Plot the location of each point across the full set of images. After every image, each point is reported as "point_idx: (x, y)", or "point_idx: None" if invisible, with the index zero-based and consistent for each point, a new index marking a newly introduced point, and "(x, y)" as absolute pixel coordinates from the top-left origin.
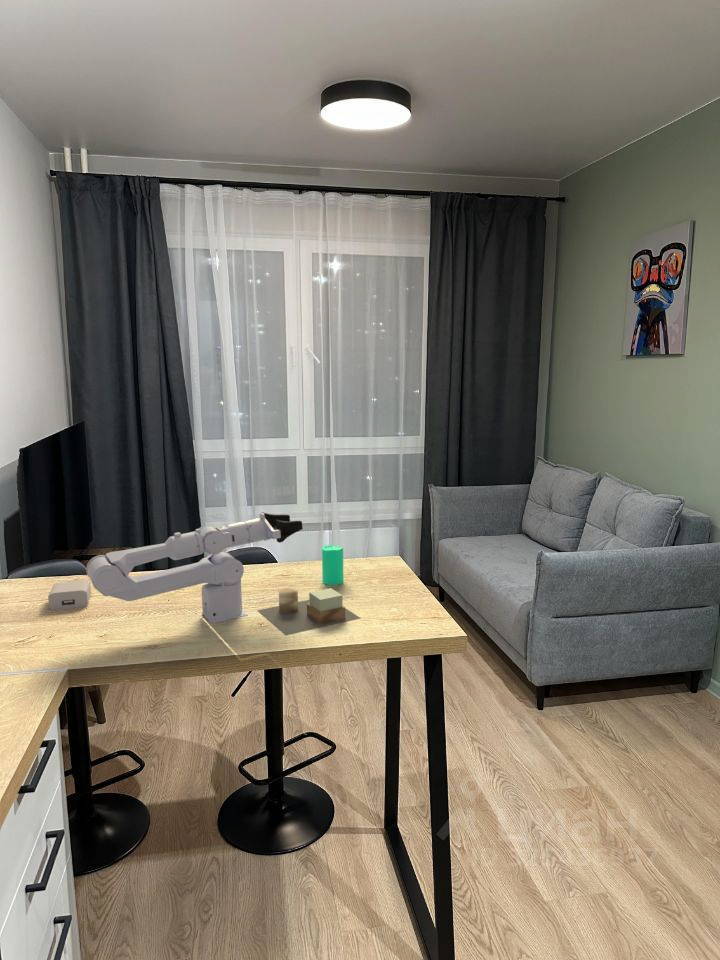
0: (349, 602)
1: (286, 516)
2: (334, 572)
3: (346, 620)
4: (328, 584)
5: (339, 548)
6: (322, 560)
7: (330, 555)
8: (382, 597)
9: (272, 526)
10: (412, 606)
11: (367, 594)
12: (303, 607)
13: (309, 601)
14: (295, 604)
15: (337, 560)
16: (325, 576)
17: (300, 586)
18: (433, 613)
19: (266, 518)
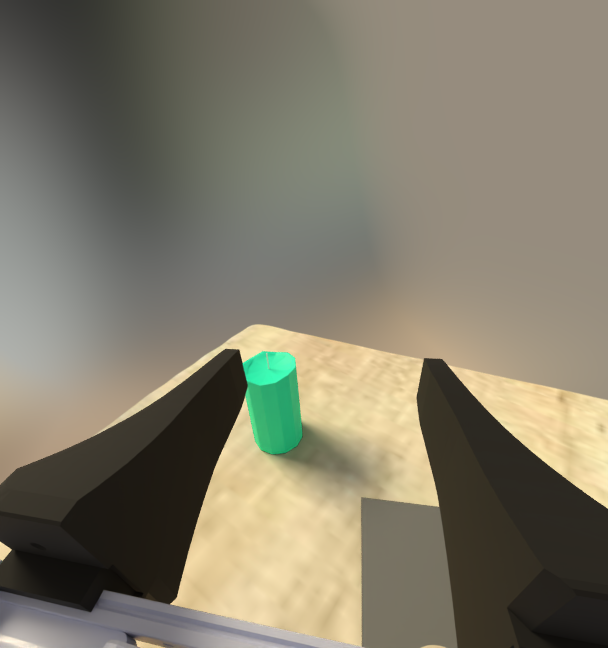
0: (419, 474)
1: (230, 366)
2: (296, 417)
3: None
4: (288, 448)
5: (276, 357)
6: (255, 407)
7: (286, 388)
8: (417, 408)
9: (188, 506)
10: (488, 397)
11: (386, 419)
12: (426, 638)
13: (376, 573)
14: None
15: (297, 388)
16: (277, 437)
17: (234, 507)
18: (537, 391)
19: (121, 519)
